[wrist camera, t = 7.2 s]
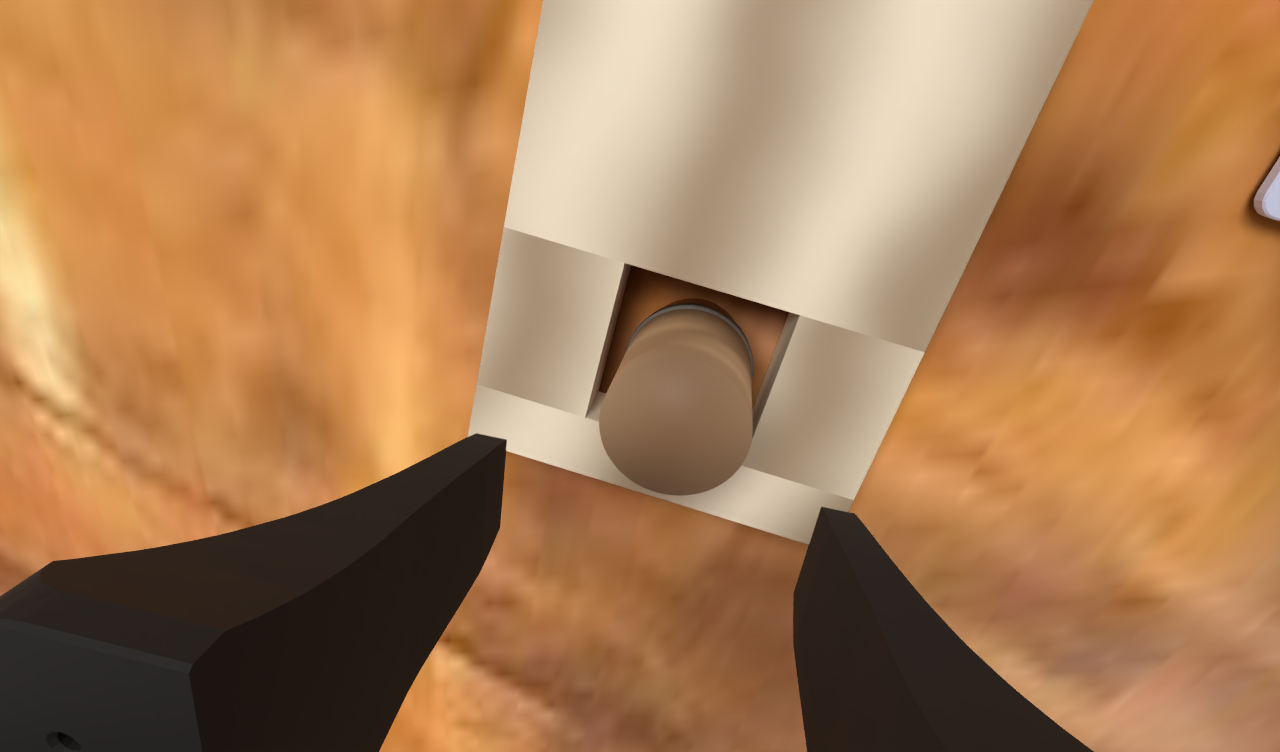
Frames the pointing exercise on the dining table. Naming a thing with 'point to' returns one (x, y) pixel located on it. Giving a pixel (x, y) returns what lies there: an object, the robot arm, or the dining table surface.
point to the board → (757, 211)
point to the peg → (681, 400)
